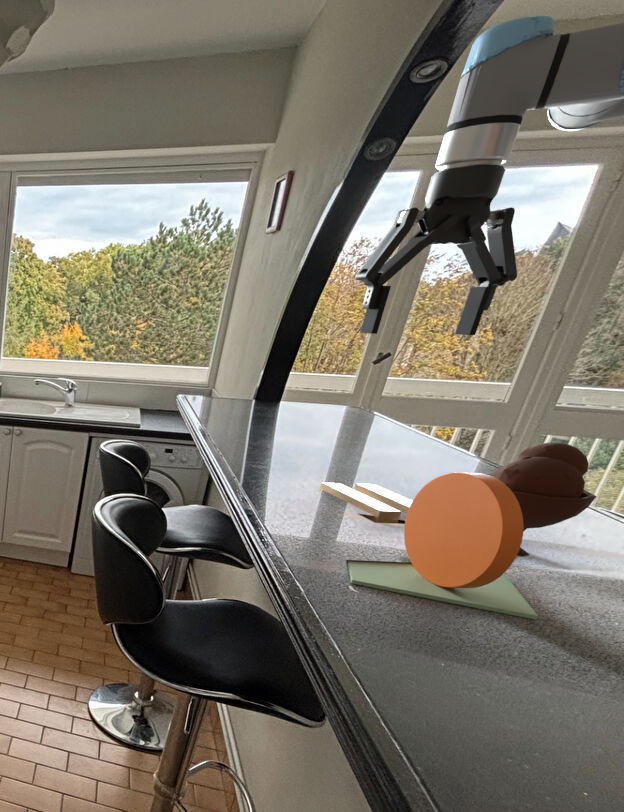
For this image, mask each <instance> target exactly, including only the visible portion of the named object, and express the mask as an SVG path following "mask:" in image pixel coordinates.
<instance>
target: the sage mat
mask: <svg viewBox="0 0 624 812" xmlns="http://www.w3.org/2000/svg"><path fill="white" fill-rule="evenodd" d="M345 561H346V565H347V566H346V567H347V570H348V575H349V581H350V584H353V585H356V584H357V585H356V586H362V585H363V586H362V587H367V588H373V589H377V590H382V591H386V592H391V593H397V594H402V595H408V596H412V597H417V598H422V599H423V598H424V599H427V600H428V599H429V600H433V601H438V602H442V603H449V604H454V605H458V606H463V607H469V608H474V609H478V610H483V611H488V612H493V613H500V614H505V615H509V616H514V617H518V618H519V617H520V618H523V619H524V618H525V619H530V620H535V621H537V620H538V618H539V615H538V614H537V612H535V610H534V608H532V606H531V605H530V604H529V602H528V601H527V600H526V599H525V597H524V596H523V595H522V594H521V592H520V591H519V590H518V589H517V587H516V586H515V585H514V584H513V582H512V581H511V580H510V579H509V577H508V576H507V574H503V575H502V576H500V577H499V578H498V579H496V580H495V581H493V582H491V583H489V584H487V585H484V586H481V587H476V588H450V587H442V586H438V585H435V584H433V583H431V582H429V581H428V580H426V579H425V578H423V577H422V576H421V575H420V574H419V573H418V572H417V571H416V569H415V568H414V566H413V565H412V563H411V561H409V562H408V561H407V562H406V561H385V560H384V561H383V560H361V559H360V560H359V559H358V560H357V559H346V560H345Z"/></svg>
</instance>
